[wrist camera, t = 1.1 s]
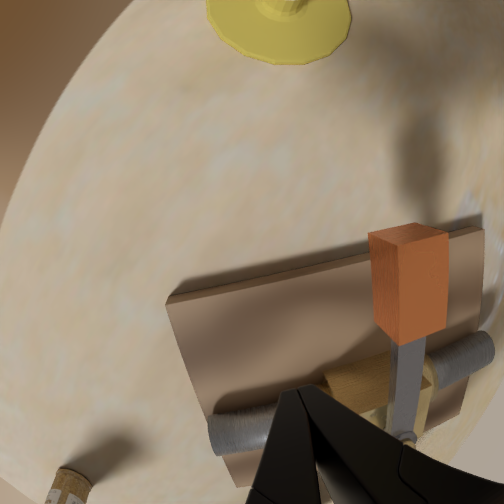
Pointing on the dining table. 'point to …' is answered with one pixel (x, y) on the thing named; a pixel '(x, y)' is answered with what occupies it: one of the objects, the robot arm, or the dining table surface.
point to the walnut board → (307, 333)
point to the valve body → (359, 392)
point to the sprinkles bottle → (68, 488)
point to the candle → (281, 28)
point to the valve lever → (408, 310)
